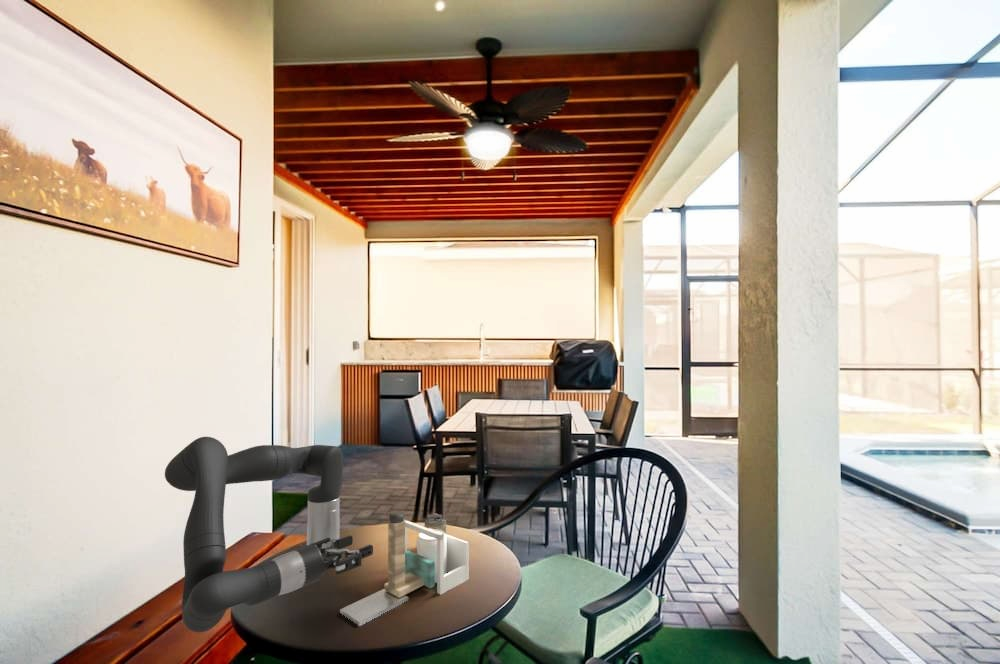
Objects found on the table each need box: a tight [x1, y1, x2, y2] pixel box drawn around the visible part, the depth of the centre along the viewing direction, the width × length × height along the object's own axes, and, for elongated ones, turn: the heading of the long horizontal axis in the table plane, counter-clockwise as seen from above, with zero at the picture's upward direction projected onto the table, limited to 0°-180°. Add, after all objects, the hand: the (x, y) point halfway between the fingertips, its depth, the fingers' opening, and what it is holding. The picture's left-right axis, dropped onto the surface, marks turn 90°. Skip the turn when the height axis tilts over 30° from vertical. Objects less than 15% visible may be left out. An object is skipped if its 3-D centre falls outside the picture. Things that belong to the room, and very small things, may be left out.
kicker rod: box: [383, 511, 436, 597], centre depth 121 cm, size 11×10×19 cm
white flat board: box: [339, 588, 409, 627], centre depth 113 cm, size 8×14×1 cm, turn 140°
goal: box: [404, 519, 470, 596], centre depth 128 cm, size 16×10×15 cm, turn 50°
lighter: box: [424, 513, 447, 534], centre depth 148 cm, size 7×4×10 cm, turn 91°
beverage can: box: [416, 529, 447, 584], centre depth 128 cm, size 8×8×12 cm
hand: (361, 544), depth 111 cm, fingers open, 8 cm apart
